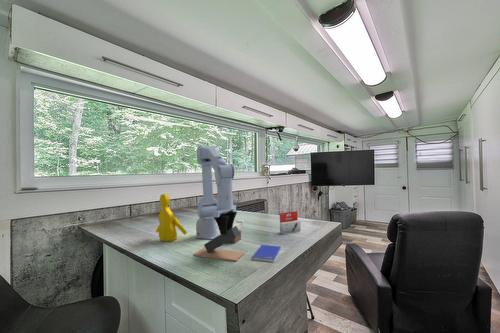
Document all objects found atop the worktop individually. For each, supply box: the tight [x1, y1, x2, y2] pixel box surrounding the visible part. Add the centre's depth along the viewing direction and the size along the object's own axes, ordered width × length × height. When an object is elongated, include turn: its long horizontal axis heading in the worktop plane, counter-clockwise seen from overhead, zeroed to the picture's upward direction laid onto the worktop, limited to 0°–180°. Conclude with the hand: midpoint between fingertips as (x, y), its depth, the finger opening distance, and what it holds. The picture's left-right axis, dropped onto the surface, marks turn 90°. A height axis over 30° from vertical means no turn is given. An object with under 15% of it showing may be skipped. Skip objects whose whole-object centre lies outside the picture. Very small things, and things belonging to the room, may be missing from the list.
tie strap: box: [232, 219, 245, 230], centre depth 99 cm, size 3×13×3 cm, turn 158°
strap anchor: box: [228, 229, 242, 244], centre depth 97 cm, size 5×6×4 cm
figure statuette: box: [155, 193, 188, 242], centre depth 101 cm, size 18×8×22 cm, turn 73°
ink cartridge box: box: [279, 210, 301, 235], centre depth 107 cm, size 2×11×10 cm, turn 115°
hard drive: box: [251, 244, 282, 263], centre depth 80 cm, size 2×8×12 cm
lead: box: [203, 226, 240, 253], centre depth 81 cm, size 14×4×4 cm
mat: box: [192, 247, 245, 263], centre depth 81 cm, size 18×7×1 cm, turn 68°
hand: (226, 232), depth 81 cm, fingers closed on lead, 4 cm apart
